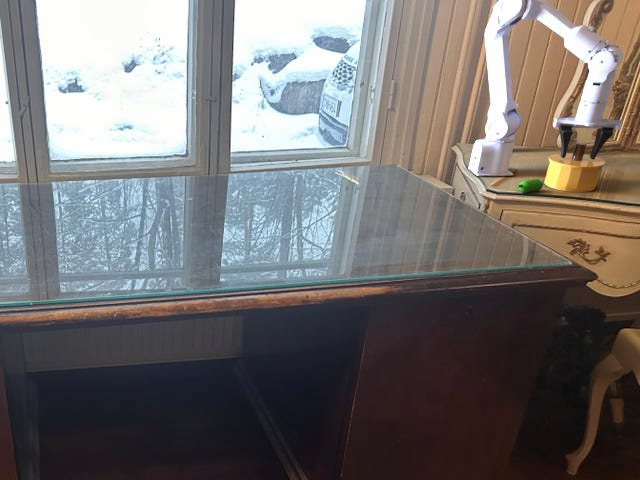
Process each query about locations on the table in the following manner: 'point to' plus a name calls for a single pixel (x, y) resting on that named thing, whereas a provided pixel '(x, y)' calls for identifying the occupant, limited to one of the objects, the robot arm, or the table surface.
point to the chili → (530, 185)
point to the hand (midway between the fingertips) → (577, 157)
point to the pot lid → (577, 159)
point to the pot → (571, 178)
